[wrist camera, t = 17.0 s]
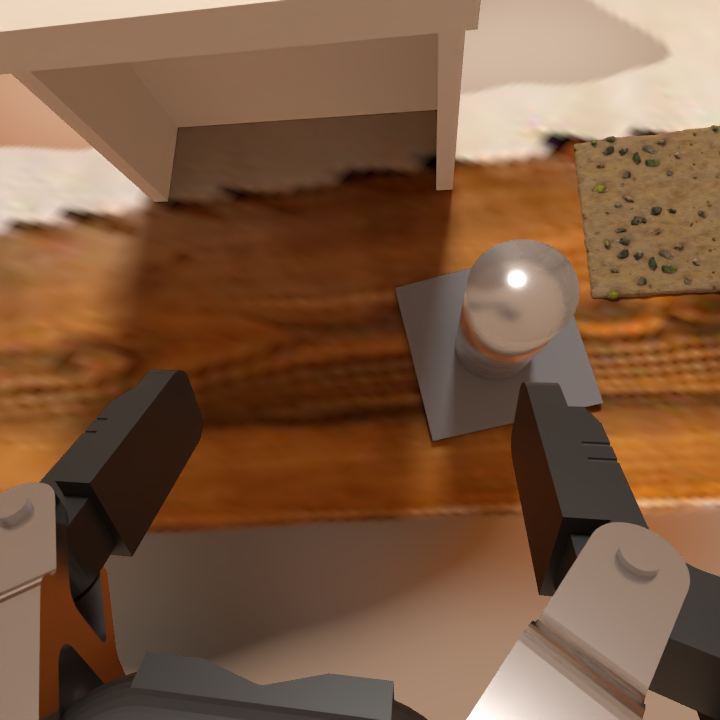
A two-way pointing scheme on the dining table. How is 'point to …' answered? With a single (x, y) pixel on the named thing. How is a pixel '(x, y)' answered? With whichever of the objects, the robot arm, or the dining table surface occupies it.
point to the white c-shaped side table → (233, 67)
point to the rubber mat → (460, 387)
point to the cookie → (651, 213)
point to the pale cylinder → (514, 307)
